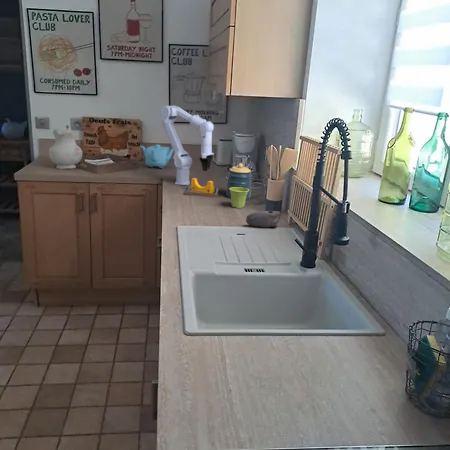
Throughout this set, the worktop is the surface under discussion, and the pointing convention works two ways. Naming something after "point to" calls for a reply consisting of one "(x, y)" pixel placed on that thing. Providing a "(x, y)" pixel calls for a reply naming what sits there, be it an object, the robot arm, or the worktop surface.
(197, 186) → the pipe clamp
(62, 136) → the ceramic pitcher
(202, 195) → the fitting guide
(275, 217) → the perforated stone tool
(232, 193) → the plant pot
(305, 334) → the worktop surface
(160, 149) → the teakettle
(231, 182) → the canister
